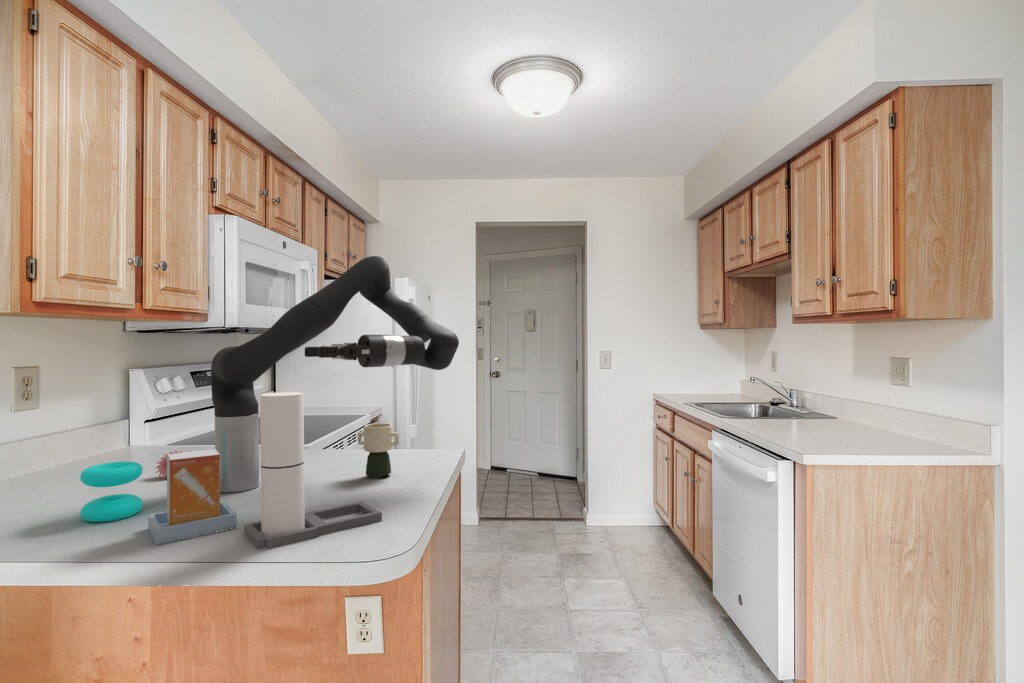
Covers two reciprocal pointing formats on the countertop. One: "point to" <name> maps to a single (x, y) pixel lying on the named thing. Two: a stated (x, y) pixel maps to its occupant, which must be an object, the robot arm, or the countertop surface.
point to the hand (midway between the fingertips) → (311, 352)
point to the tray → (190, 525)
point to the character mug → (378, 447)
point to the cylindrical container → (282, 463)
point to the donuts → (112, 504)
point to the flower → (164, 465)
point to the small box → (193, 486)
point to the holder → (315, 525)
